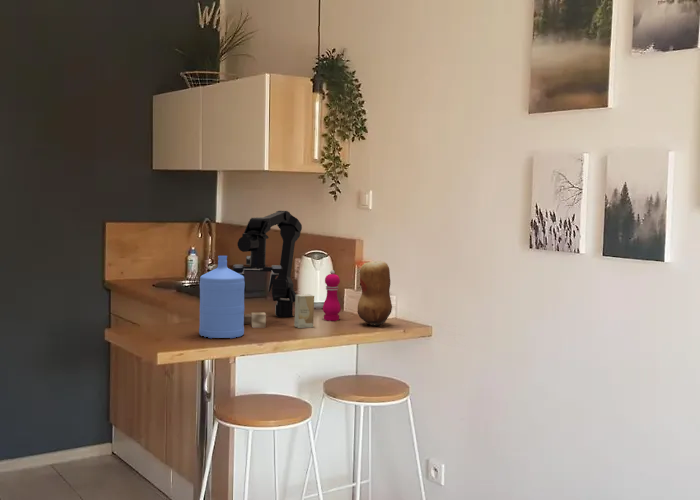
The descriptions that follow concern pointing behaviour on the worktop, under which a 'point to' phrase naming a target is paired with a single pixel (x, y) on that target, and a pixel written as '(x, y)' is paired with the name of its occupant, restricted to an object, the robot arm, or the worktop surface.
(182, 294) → the worktop surface
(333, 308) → the pepper mill
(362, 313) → the butternut squash
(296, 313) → the skincare box
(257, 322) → the oak cube
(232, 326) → the water jug
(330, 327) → the worktop surface
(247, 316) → the beige flat block
